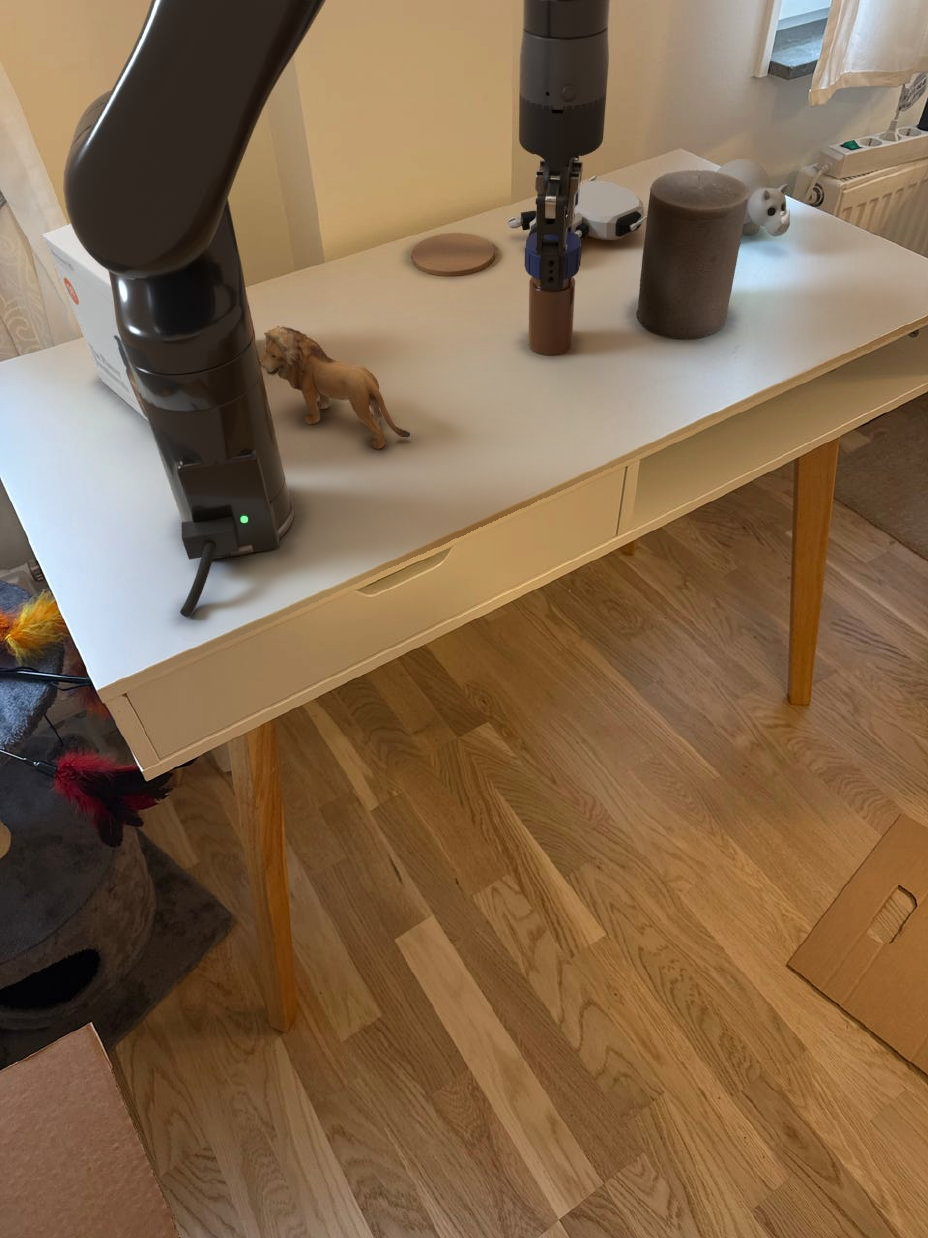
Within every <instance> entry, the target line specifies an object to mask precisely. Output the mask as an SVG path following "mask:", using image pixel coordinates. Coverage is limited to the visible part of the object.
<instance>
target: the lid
mask: <svg viewBox="0 0 928 1238" xmlns="http://www.w3.org/2000/svg"><path fill="white" fill-rule="evenodd" d="M528 236H529V235H528ZM528 236H527V238H526V241H525V247H524V268H525V271H526V273H527V274H528V275H529V276H530V277H534V278H536V279H540V273H541V255H537V251H536V245H537V232H536V233H533V234H531V235H530V236H529V237H528ZM546 239H549V240H558V236H556V235H546ZM566 245H568V247H567V250H566V253H565V265H564V280H565V279H569V278H571V277H573V278H574V277H575V276H576V275H577V274H578V273H579V271H580V267H581V262H582V261H581V260H582V239H580V238H579V237H578V236H577V235H575V234H574V233H571V232H569V231H567V243H566Z"/></svg>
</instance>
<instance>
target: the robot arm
mask: <svg viewBox="0 0 928 1238" xmlns="http://www.w3.org/2000/svg"><path fill="white" fill-rule="evenodd" d="M326 1H327V0H151V1H150V4H149V8H148V11H147V13H146V16H145V19H144V21H143V24H142V27H141V30H140V32H139V34H138V36H137V39H136V41H135V44H134V45H133V48H132V50H131V52H130V54H129V56H128V58H127V59H126V61H125V63H124V66H123V67H122V69H121V71H120V73H119V75H118V77H117V79H116V81H115V82H114V85H113V87H112V88H111V90H108V91H106V92H104V93H103V94H100V96H98V97H96V98H95V99H94V100H93V101H92V102H91V103H90V104H89V105H88V106H87V108H86V109H85V110H84V112H83V113H82V115H81V116H80V118H79V119H78V120H79V121H78V122H77V125H76V127H75V130H74V132H73V133H74V135H73V136H72V140H71V143H70V146H69V150H68V154H67V157H66V161H65V165H64V169H63V183H62V185H63V186H62V190H63V192H62V193H63V198H64V203H65V204H64V205H65V210H66V213H67V217H68V220H69V222H70V224H71V225H72V228H73V230H74V232H75V234H76V236H77V238H78V240H79V241H80V243H81V244H82V246H83V247H84V248H85V250H86V251H87V252H88V253H89V255H90V256H91V257H92V258H93V259H94V260H95V261H97V262H98V263H99V264H100V265H101V266H102V267H104V268H105V269H107V270H108V272H109V277H110V282H111V287H112V293H113V300H114V308H115V317H116V324H117V328H118V332H119V335H120V338H121V341H122V344H123V347H124V350H125V353H126V355H127V359H128V362H129V365H130V368H131V371H132V373H133V376H134V379H135V382H136V385H137V388H138V391H139V395H140V398H141V401H142V404H143V407H144V410H145V413H146V416H147V419H148V421H147V422H148V425H149V428H150V430H151V433H152V437H153V439H154V443H155V446H156V449H157V452H158V454H159V457H160V460H161V463H162V466H163V469H164V472H165V475H166V478H167V480H168V483H169V487H170V490H171V492H172V496H173V499H174V501H175V503H176V507H177V509H178V513H179V515H180V519H181V524H180V525H181V541H182V543H183V547H184V550H185V552H186V555H187V558H188V560H194V559H200V561H199V564H198V568H197V572H196V575H195V578H194V581H193V583H192V585H191V588H190V591H189V592H188V595H187V597H186V600H185V602H184V604H183V605H182V607H181V609H180V610H179V613H180V615H181V616H182V617H184V618H190V617H191V616H192V614H193V612H194V611H195V609H196V607H197V605H198V603H199V600H200V598H201V596H202V593H203V590H204V588H205V585H206V583H207V579H208V577H209V573H210V571H211V567H212V563H213V560H217V559H222V558H229V557H235V556H243V555H247V554H251V553H259V552H264V551H269V550H276V549H279V547H280V539H281V538H282V537H283V536H284V535H285V534H286V533H287V531H288V530H289V529H290V527H291V525H292V523H293V521H294V517H295V511H294V505H293V501H292V497H291V495H290V492H289V486H288V483H287V479H286V474H285V470H284V467H283V462H282V461H283V460H282V456H281V452H280V448H279V443H278V438H277V434H276V429H275V425H274V421H273V416H272V411H271V408H270V403H269V398H268V393H267V389H266V384H265V380H264V379H265V378H264V375H263V371H262V366H261V365H260V360H261V359H260V356H259V351H258V347H257V341H256V342H255V339H256V336H255V337H254V333H253V328H252V324H251V319H250V314H249V308H248V303H249V301H248V302H247V298H248V295H246V294H247V290H246V289H247V288H246V283H245V276H244V270H243V265H242V260H241V255H240V251H239V246H238V242H237V241H238V240H237V236H236V231H235V226H234V222H233V216H232V212H231V206H230V202H229V195H230V193H231V190H232V187H233V185H234V182H235V179H236V176H237V174H238V171H239V169H240V166H241V164H242V161H243V158H244V156H245V153H246V150H247V148H248V145H249V143H250V142H251V138H252V136H253V133H254V130H255V128H256V125H257V123H258V121H259V119H260V117H261V114H262V112H263V109H264V108H265V106H266V103H267V102H268V100H269V98H270V96H271V94H272V92H273V90H274V88H275V86H276V84H277V83H278V82H279V80H280V78H281V76H282V74H283V72H284V71H285V69H286V68H287V67H288V65H289V63H290V61H291V60H292V59H293V57H294V55H295V54H296V52H297V51H298V49H299V47H300V45H301V44H302V42H303V40H305V37H306V35H307V34H308V32H309V30H310V29H311V27H312V26H313V24H314V22H315V20H316V19H317V17H318V15H319V14H320V12H321V10H322V8H323V6H324V5H325V3H326ZM610 6H611V0H523V6H522V7H523V10H522V11H523V12H522V15H523V17H522V38H521V46H520V54H519V83H518V84H519V85H518V87H519V91H518V93H519V94H518V96H519V97H518V101H519V102H518V104H519V105H518V109H519V110H518V142H519V145H520V146H521V148H522V149H523V150H525V151H526V152H527V153H529V154H532V155H536V156H538V157H540V158H541V159H540V160H539V166H538V167H539V168H538V170H536V172H535V181H534V182H535V183H534V184H535V185H534V186H535V187H534V189H535V191H536V193H537V196H536V198H535V205H536V208H535V209H536V210H535V211H536V223H537V245H536V251H537V255H541V273H540V287H541V288H542V289H543V290H554V291H559V290H561V289H562V288H563V284H564V265H565V253H566V250H567V247H568V245H566V243H567V231H569V232H571V230H572V224H573V222H574V218H575V213H574V211H575V206H577V205H578V200H579V194H580V185H581V182H582V178H583V172H584V161H582V160H581V161H580V157H585V156H587V155H589V154H592V153H594V152H595V151H597V150H598V149H599V148H600V147H601V145H602V143H603V141H604V134H605V133H604V132H605V120H606V119H605V117H606V107H607V92H608V91H607V90H608V89H607V88H608V77H609V63H610V47H609V23H610V8H611V7H610ZM546 235H556V236H558V240H549V239H546Z"/></svg>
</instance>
